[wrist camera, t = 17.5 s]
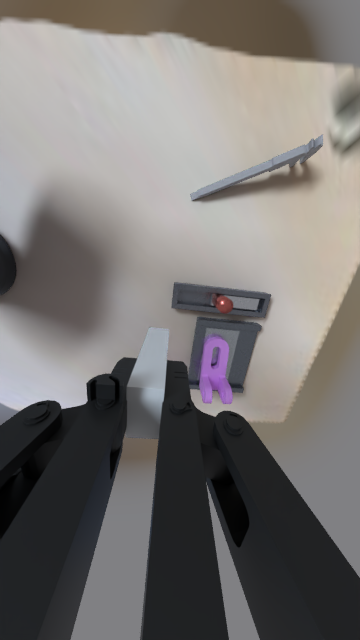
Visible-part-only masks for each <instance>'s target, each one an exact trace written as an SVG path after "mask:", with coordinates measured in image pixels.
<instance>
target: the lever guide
mask: <svg viewBox="0 0 360 640" xmlns="http://www.w3.org/2000/svg"><path fill="white" fill-rule="evenodd" d="M212 293H214V294H223V295H232V296H241V297H250V298H258V299H259V303H258V307H257V310H249V309H240V308H233V309H232V311H231V312H229V313H226V314H234V315H244V316H253V317H263V318H265V315H266V311H267V308H268V304H269V301H270V297H271V294H268V293H264V292H255V291H246V290H238V289H229V288H221V287H212V286H203V285H195V284H186V283H177V282H174V289H173V298H172V308H178V309H187V310H197V311H206V312H215V313H221V312H220V311H219V310H218V309H217V308H216V307H215V306H212V305H210V300H211V295H212Z"/></svg>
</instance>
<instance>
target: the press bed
mask: <svg viewBox="0 0 360 640" xmlns="http://www.w3.org/2000/svg"><path fill="white" fill-rule="evenodd" d="M261 327H262V326H261V325H259V324H258V323H254V322H245V321H235V320H225V319H216V318H206V317H197V322H196V329H195V335H194V341H193V348H192V354H191V361H190V367H189V374H188V379H189V387H190V389H198V390H200V387H199V383H200V374H201V365H202V356H203V347H204V344H205V342H206V341H207V340H208V339H209V338H211V337H221V338H223V339H224V340H225V341H226V342H227V344H228V346H229V355H228V362H227V368H226V375H225V376H226V379H227V381H228V383H229V385H230V387H231V389H232V392H238V393H243V390H244V388H243V382H244V378H245V375H246V371H247V368H248V364H249V360H250V357H251V353H252V350H253V346H254V343H255V339H256V335H257V332H258V331H260V330H261ZM218 354H219V347H214V348H213V352H212V360H211V366H215V365H216V364H217V361H218ZM212 391H218V390H212Z"/></svg>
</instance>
